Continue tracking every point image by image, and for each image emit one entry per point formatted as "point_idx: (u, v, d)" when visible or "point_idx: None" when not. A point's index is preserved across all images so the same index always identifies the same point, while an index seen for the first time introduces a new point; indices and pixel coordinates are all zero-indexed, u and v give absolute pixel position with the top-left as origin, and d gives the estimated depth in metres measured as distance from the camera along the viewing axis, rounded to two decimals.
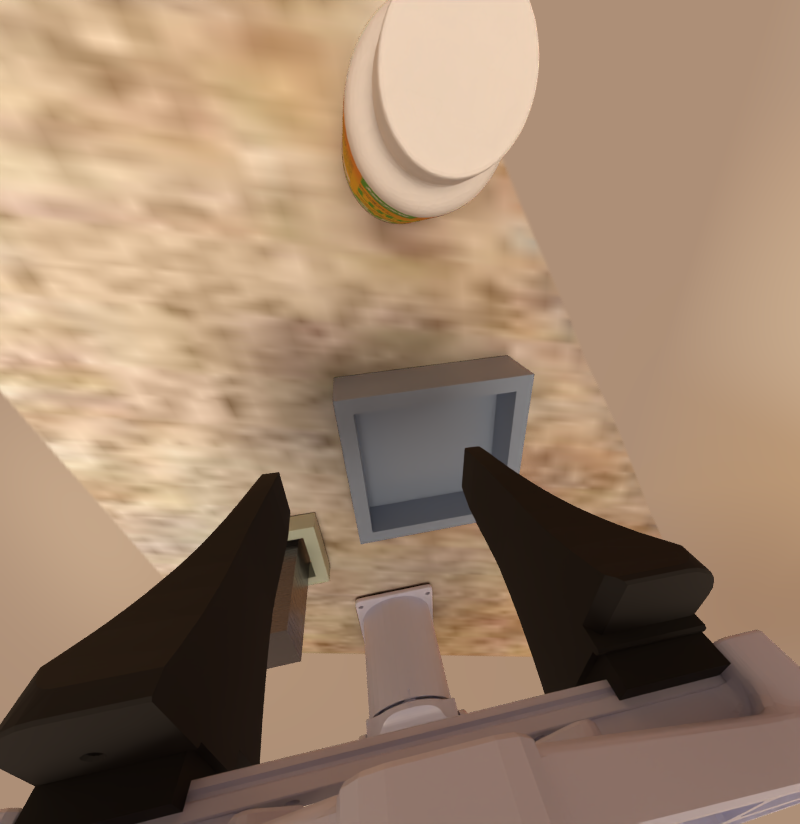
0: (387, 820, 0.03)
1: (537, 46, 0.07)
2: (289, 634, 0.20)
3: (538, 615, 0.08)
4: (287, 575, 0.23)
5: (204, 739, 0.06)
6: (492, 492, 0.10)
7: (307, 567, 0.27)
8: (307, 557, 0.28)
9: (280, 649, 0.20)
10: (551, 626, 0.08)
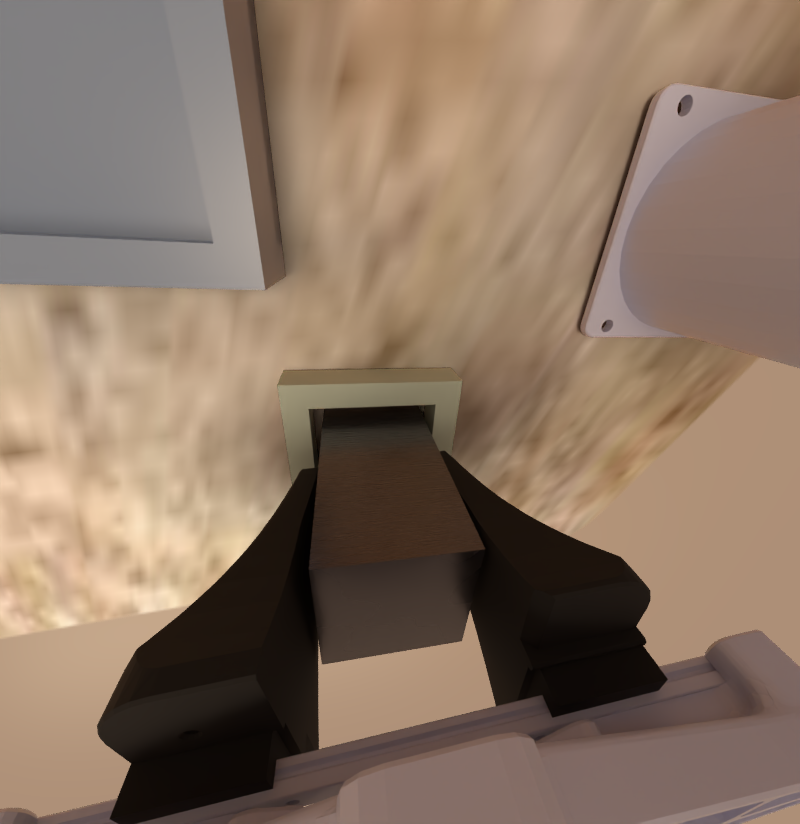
0: (387, 820, 0.03)
1: None
2: (344, 561, 0.07)
3: (488, 625, 0.08)
4: None
5: (286, 720, 0.06)
6: None
7: (407, 413, 0.13)
8: None
9: (399, 582, 0.07)
10: (498, 636, 0.08)
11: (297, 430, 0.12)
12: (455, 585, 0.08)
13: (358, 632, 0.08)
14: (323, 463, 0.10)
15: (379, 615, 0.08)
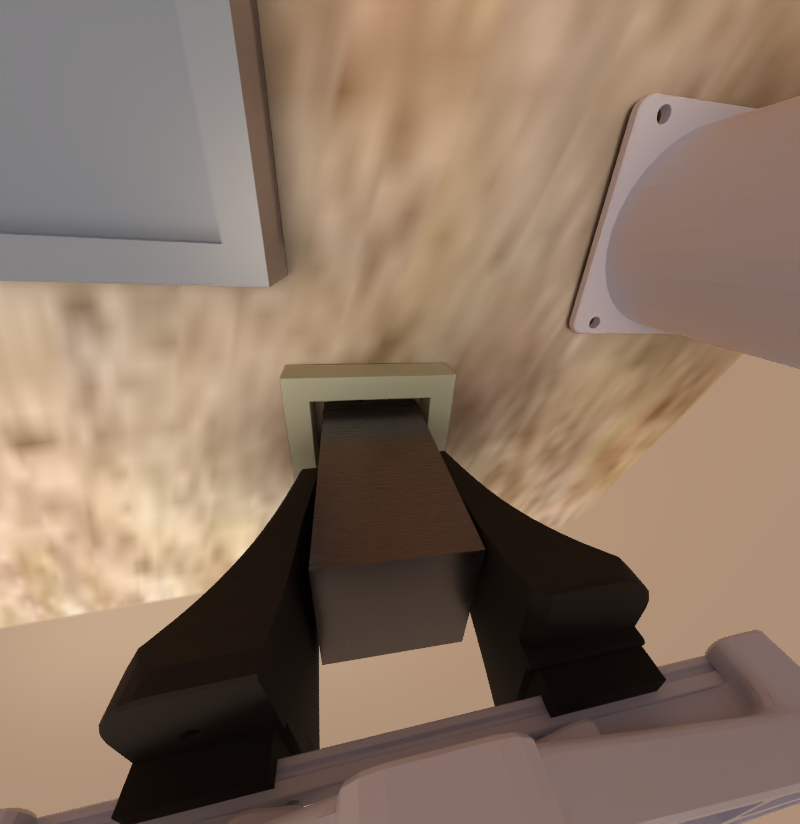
0: (387, 820, 0.03)
1: None
2: (344, 561, 0.07)
3: (487, 626, 0.08)
4: None
5: (288, 720, 0.06)
6: None
7: (407, 414, 0.13)
8: (397, 405, 0.14)
9: (399, 583, 0.07)
10: (496, 637, 0.08)
11: (298, 422, 0.13)
12: (455, 585, 0.08)
13: (358, 632, 0.08)
14: (323, 463, 0.10)
15: (379, 616, 0.08)
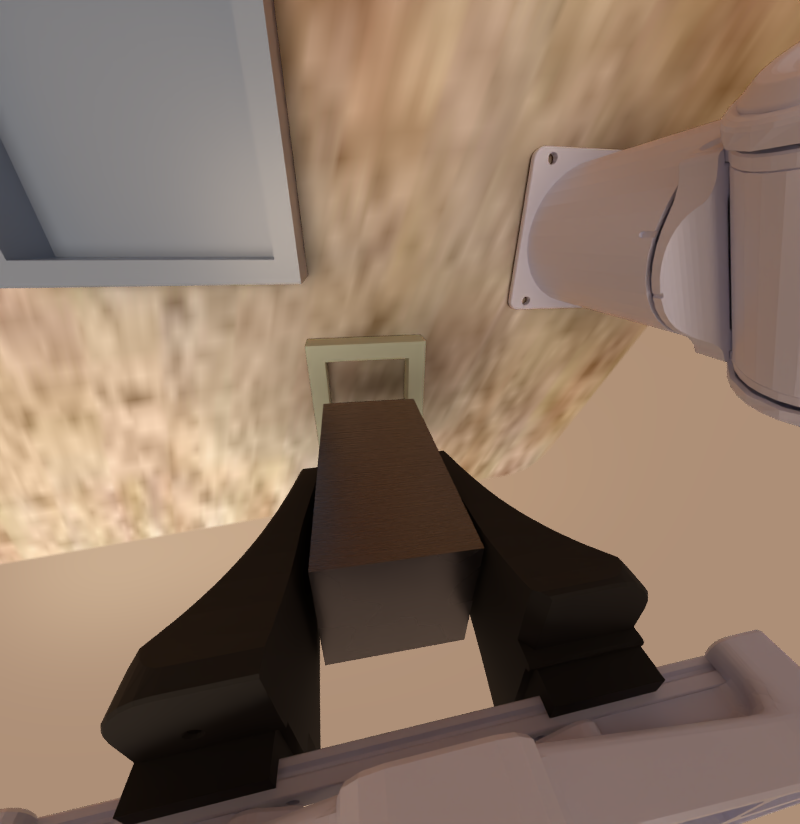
0: (387, 820, 0.03)
1: None
2: (343, 562, 0.07)
3: (486, 626, 0.08)
4: None
5: (289, 720, 0.06)
6: None
7: (406, 413, 0.13)
8: (395, 405, 0.14)
9: (399, 582, 0.07)
10: (496, 637, 0.08)
11: (318, 377, 0.19)
12: (455, 584, 0.08)
13: (360, 632, 0.08)
14: (322, 465, 0.10)
15: (380, 616, 0.08)
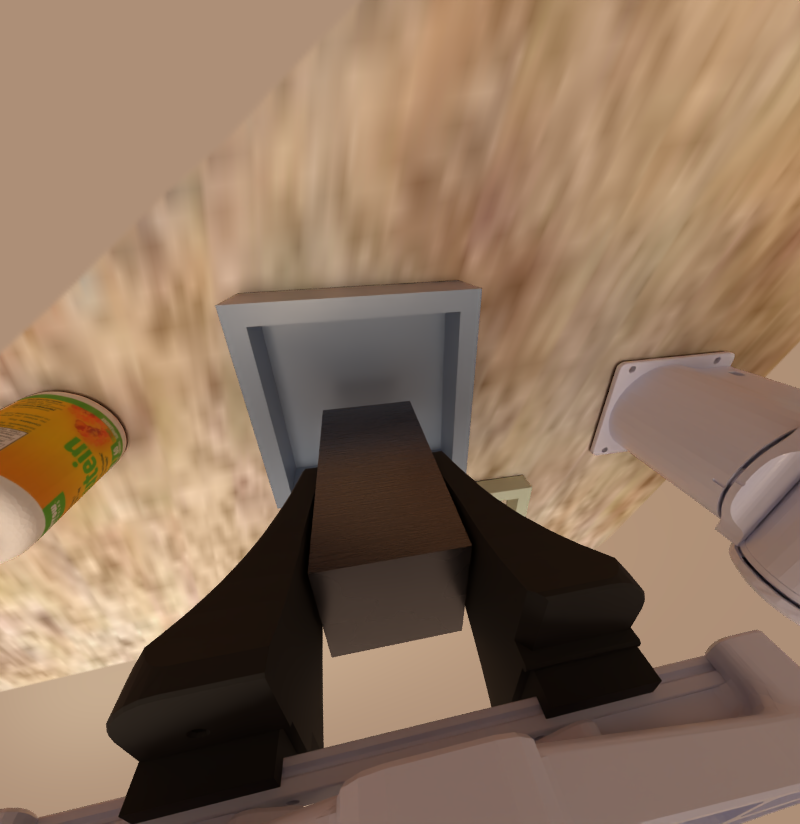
0: (387, 819, 0.03)
1: None
2: (340, 564, 0.08)
3: (484, 626, 0.08)
4: None
5: (293, 719, 0.06)
6: None
7: (402, 416, 0.14)
8: (392, 408, 0.14)
9: (394, 580, 0.08)
10: (493, 638, 0.08)
11: None
12: (448, 580, 0.08)
13: (361, 627, 0.09)
14: (321, 471, 0.11)
15: (379, 611, 0.09)
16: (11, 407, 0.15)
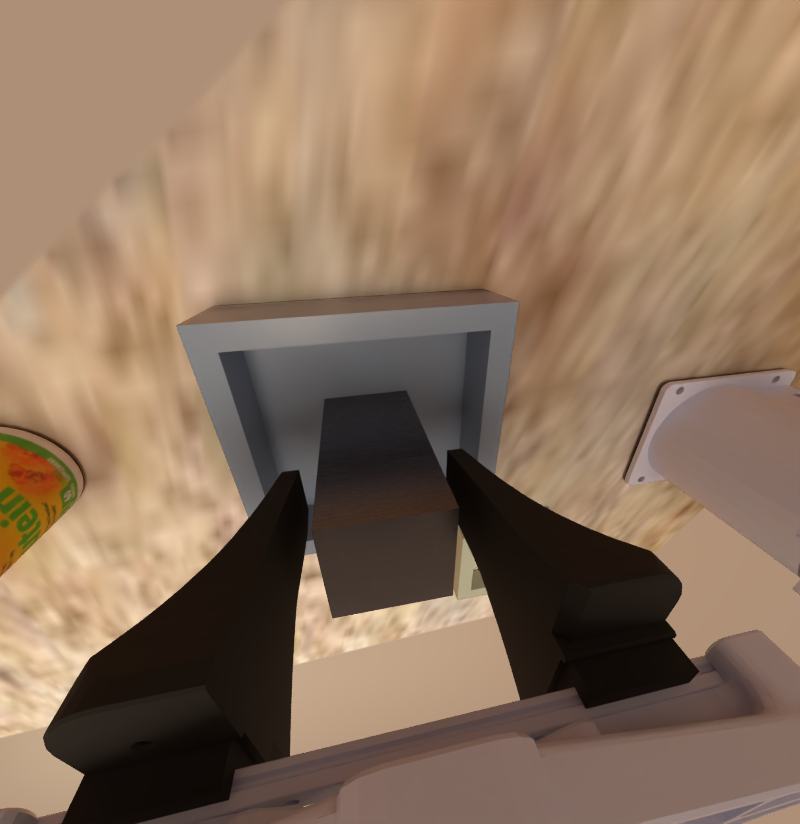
0: (387, 820, 0.03)
1: None
2: (340, 523, 0.08)
3: (513, 620, 0.08)
4: None
5: (247, 729, 0.06)
6: (471, 495, 0.10)
7: (398, 403, 0.14)
8: (389, 397, 0.15)
9: (389, 540, 0.09)
10: (524, 631, 0.08)
11: (468, 556, 0.22)
12: (438, 542, 0.09)
13: (360, 587, 0.10)
14: (323, 449, 0.11)
15: (375, 572, 0.09)
16: None
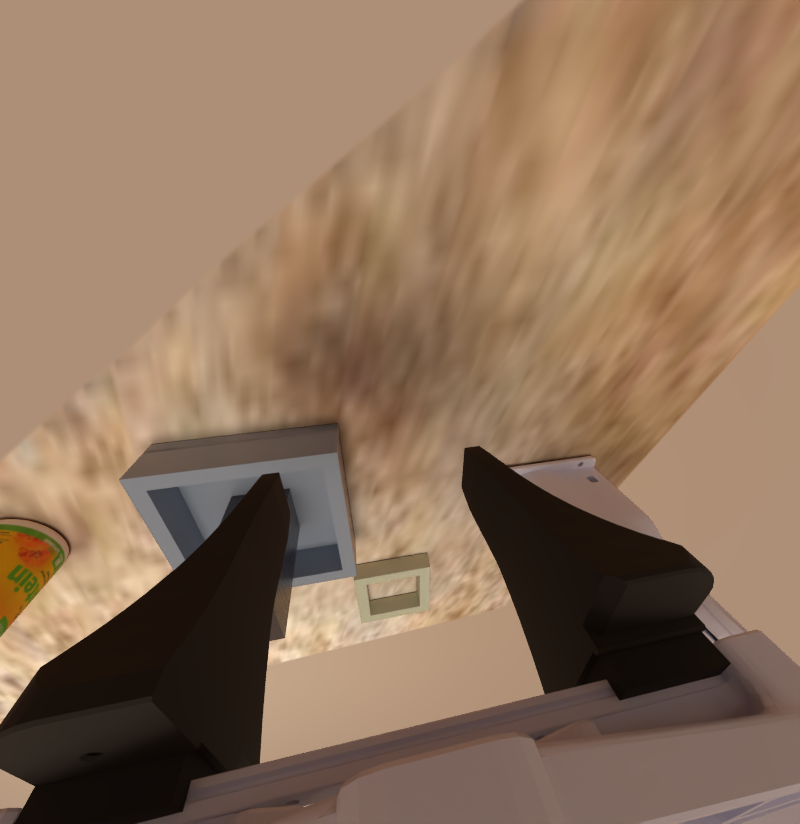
0: (387, 820, 0.03)
1: None
2: None
3: (538, 615, 0.08)
4: None
5: (204, 739, 0.06)
6: (492, 492, 0.10)
7: None
8: None
9: None
10: (551, 626, 0.08)
11: (361, 592, 0.29)
12: None
13: None
14: None
15: None
16: None
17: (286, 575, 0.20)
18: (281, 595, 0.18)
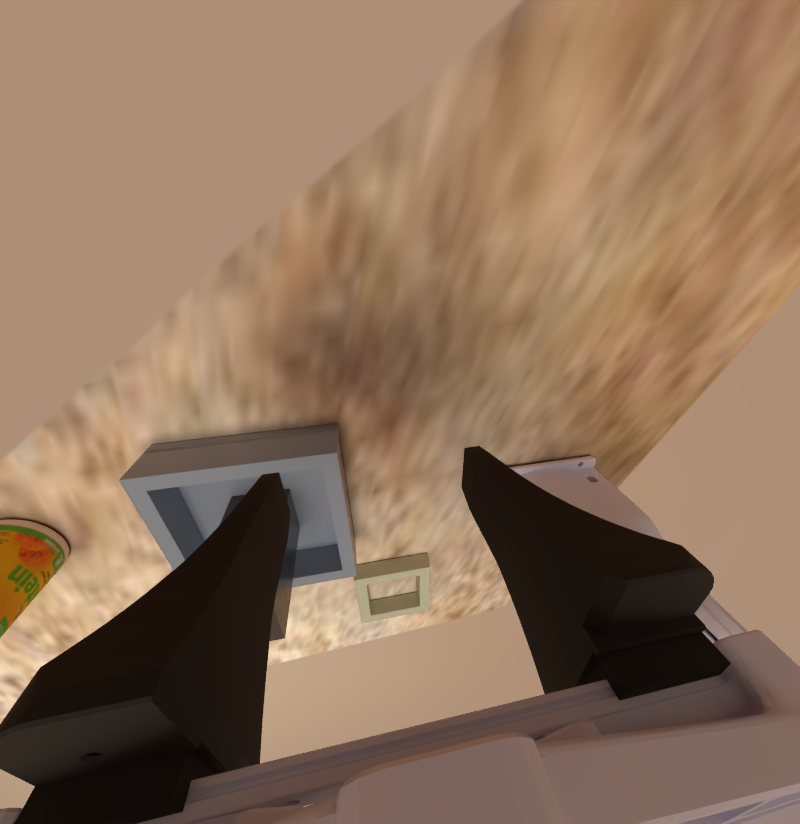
0: (387, 820, 0.03)
1: None
2: None
3: (538, 615, 0.08)
4: None
5: (204, 739, 0.06)
6: (492, 492, 0.10)
7: None
8: None
9: None
10: (551, 626, 0.08)
11: (361, 592, 0.29)
12: None
13: None
14: None
15: None
16: None
17: (286, 575, 0.20)
18: (281, 595, 0.18)
